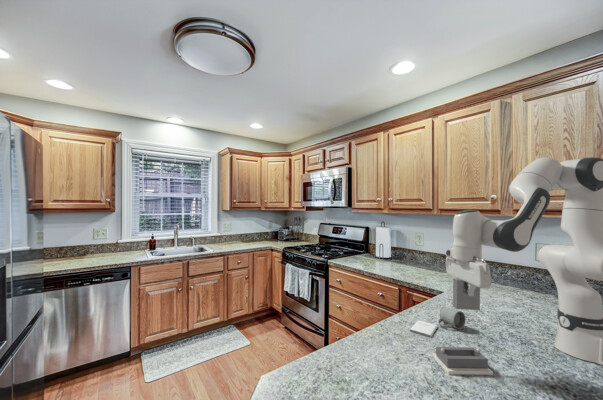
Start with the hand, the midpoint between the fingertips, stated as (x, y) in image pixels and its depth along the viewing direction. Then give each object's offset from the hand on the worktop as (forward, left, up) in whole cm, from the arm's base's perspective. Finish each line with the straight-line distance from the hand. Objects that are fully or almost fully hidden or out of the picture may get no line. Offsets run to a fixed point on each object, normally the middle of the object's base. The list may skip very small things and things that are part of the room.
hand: (466, 293), depth 90 cm
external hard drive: (+5, -22, -23) cm, 32 cm away
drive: (0, 0, -5) cm, 5 cm away
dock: (+5, +4, -22) cm, 23 cm away
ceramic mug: (-9, -25, -23) cm, 35 cm away
